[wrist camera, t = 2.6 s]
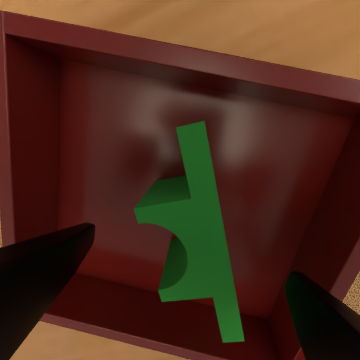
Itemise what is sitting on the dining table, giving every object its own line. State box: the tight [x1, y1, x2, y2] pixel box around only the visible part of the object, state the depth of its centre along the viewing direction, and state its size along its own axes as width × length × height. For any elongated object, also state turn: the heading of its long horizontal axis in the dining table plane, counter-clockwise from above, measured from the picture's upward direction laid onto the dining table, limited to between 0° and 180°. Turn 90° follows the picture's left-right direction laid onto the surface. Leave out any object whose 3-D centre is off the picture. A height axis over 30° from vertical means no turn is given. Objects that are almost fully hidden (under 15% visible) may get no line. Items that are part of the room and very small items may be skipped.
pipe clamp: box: [134, 121, 244, 343], centre depth 11 cm, size 11×4×5 cm, turn 12°
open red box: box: [0, 10, 360, 360], centre depth 12 cm, size 19×17×4 cm
